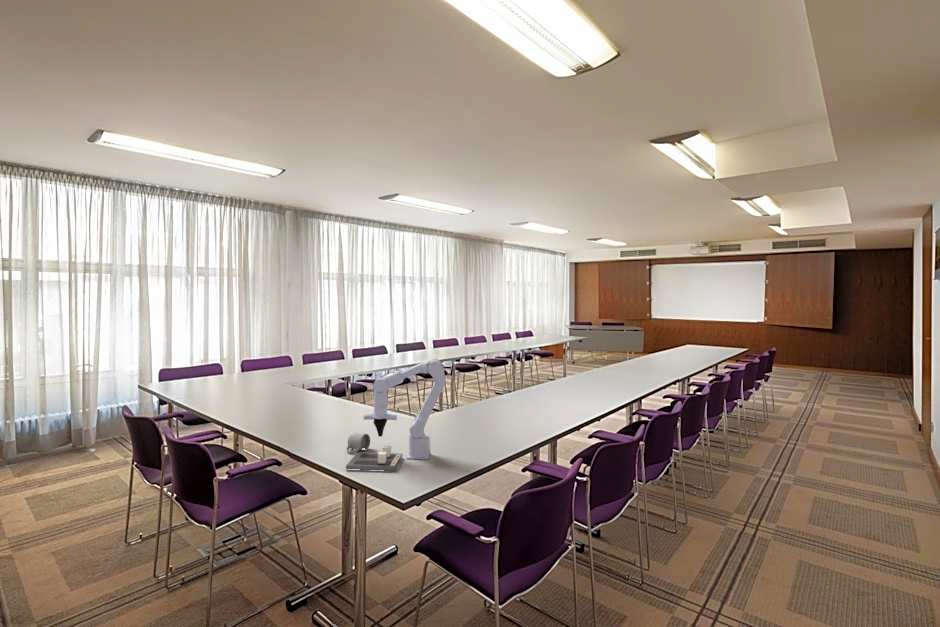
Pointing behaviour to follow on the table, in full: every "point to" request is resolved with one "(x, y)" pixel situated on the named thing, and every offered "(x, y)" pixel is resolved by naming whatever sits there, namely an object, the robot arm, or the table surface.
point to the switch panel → (374, 462)
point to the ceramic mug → (358, 442)
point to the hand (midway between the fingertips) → (380, 435)
